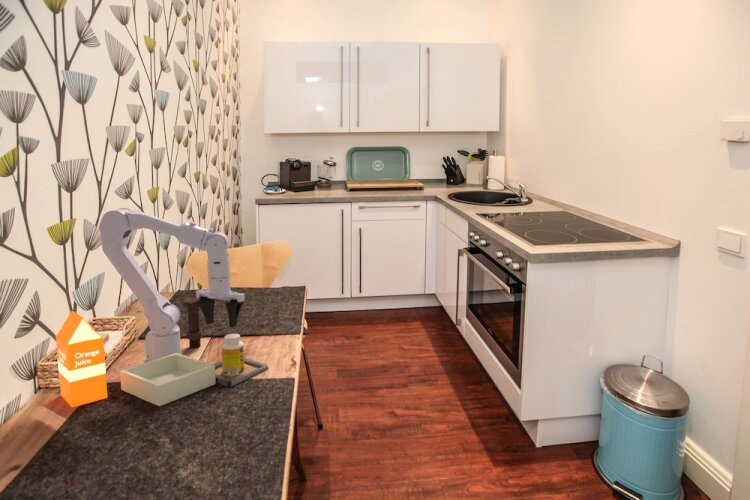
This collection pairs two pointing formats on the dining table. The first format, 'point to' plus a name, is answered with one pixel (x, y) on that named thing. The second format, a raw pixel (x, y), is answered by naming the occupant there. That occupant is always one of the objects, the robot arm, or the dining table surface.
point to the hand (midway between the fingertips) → (221, 324)
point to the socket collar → (240, 378)
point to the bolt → (193, 322)
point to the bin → (167, 378)
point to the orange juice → (81, 362)
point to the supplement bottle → (232, 355)
